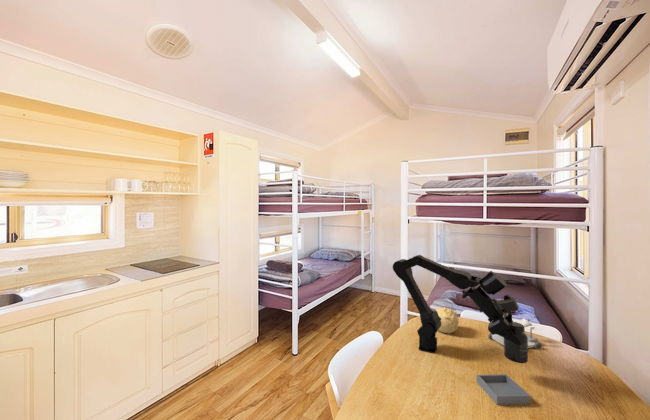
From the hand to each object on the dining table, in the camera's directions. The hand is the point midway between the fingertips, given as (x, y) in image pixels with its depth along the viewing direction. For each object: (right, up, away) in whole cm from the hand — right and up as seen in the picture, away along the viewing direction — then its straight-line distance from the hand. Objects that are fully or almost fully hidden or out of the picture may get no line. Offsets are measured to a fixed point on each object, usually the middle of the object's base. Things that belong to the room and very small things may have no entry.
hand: (520, 340), depth 89 cm
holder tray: (-11, -13, -7) cm, 19 cm away
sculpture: (-10, -14, +36) cm, 39 cm away
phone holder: (+16, -14, +23) cm, 31 cm away
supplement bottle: (-1, -7, +1) cm, 7 cm away
